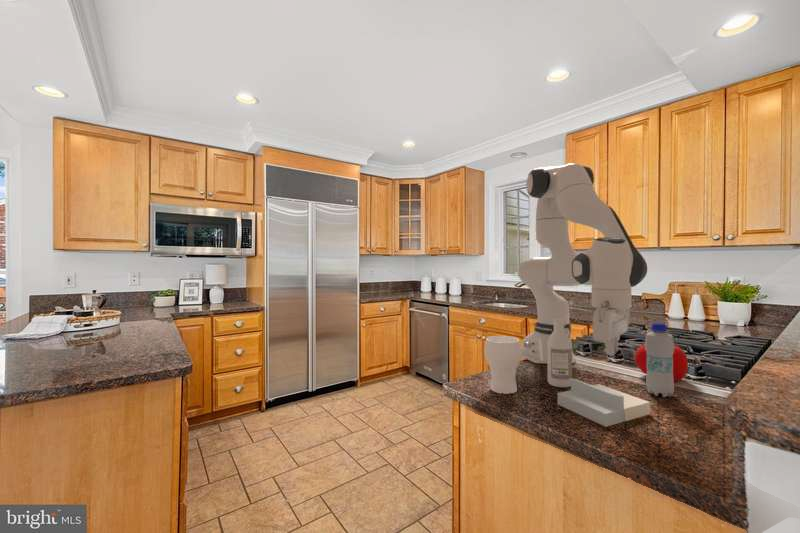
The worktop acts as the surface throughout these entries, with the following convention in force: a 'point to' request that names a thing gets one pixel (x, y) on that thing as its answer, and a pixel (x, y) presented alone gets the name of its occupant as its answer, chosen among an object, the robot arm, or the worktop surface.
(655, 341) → the bottle
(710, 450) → the worktop surface
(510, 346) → the cup
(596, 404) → the stepped block
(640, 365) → the tomato
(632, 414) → the cream slotted block
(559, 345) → the bath foam
